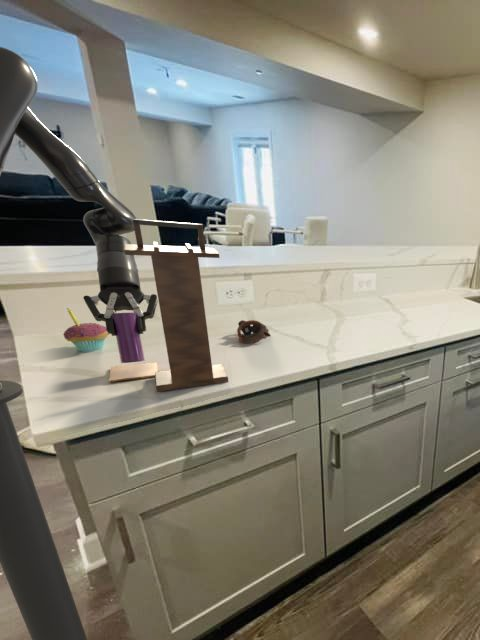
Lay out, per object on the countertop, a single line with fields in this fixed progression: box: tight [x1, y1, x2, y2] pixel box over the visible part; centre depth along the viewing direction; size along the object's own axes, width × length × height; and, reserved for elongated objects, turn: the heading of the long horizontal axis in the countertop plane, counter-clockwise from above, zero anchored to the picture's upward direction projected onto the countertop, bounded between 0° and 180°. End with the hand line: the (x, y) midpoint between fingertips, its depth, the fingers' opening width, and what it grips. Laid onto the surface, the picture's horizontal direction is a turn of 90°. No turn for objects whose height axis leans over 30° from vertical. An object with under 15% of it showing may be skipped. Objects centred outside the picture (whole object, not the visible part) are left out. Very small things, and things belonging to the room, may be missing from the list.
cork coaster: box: [108, 361, 159, 383], centre depth 96 cm, size 9×9×1 cm
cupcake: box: [62, 307, 110, 353], centre depth 103 cm, size 9×8×12 cm
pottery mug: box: [236, 319, 271, 345], centre depth 123 cm, size 12×10×8 cm
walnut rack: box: [124, 218, 229, 392], centre depth 90 cm, size 16×9×38 cm, turn 129°
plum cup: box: [112, 312, 146, 364], centre depth 94 cm, size 12×4×4 cm
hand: (127, 333), depth 93 cm, fingers closed on plum cup, 4 cm apart
